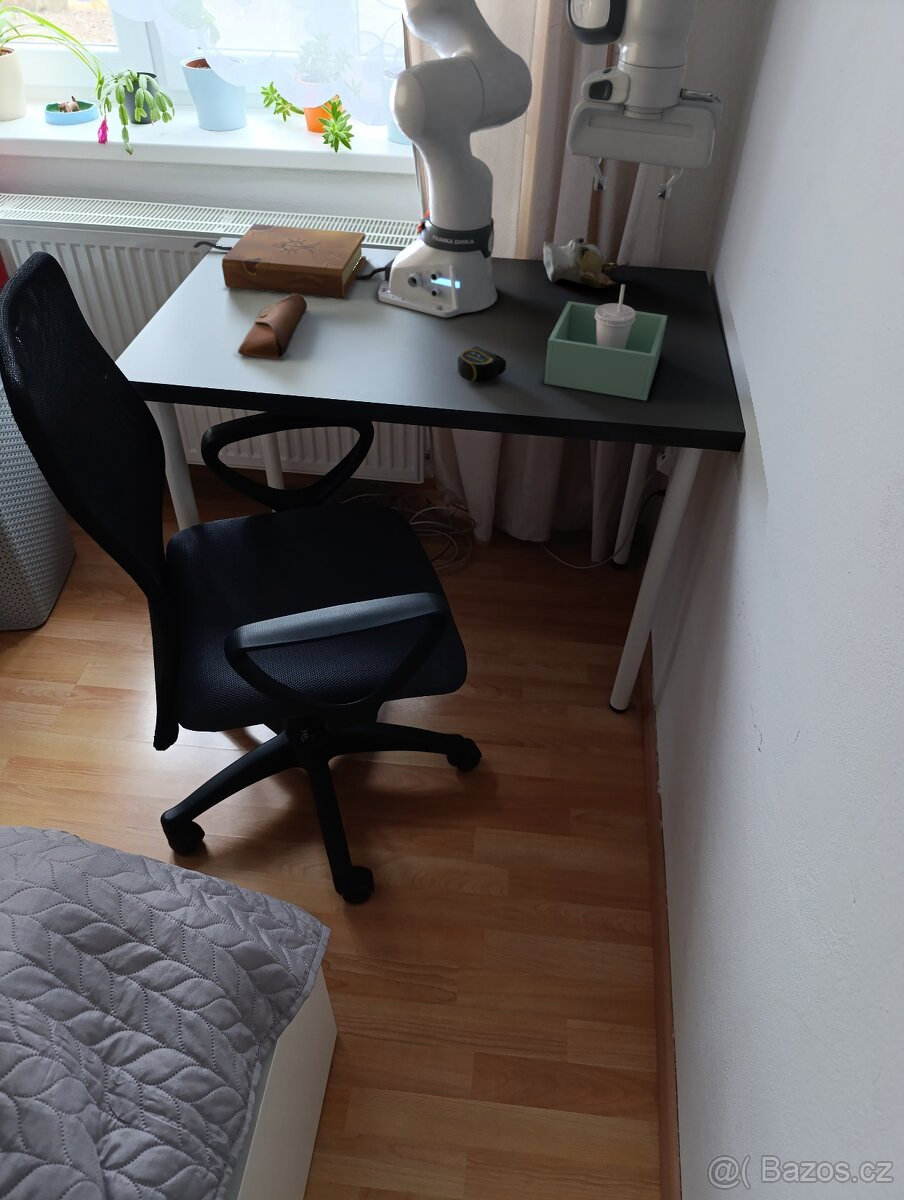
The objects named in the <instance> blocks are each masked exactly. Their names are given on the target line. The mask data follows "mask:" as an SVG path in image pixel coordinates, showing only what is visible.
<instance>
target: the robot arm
mask: <svg viewBox="0 0 904 1200" xmlns="http://www.w3.org/2000/svg"><path fill="white" fill-rule="evenodd" d="M398 2H399V6H400V9H401V13H402V17H403V19H404V23H405V25H406V27H407V28H408V30H409V31H410V33H411V34H412V35H413V36H414V37H415V38H417V39H419V40H421V41H422V42H424V43H426V44H428V45H429V46H430V47H431V48H432V49H433V50H434V51H435V52H436V54H438V56H439V57H440V58H437V59H431V60H424V61H421V62H419V63H417V64H415V65H412V66H410V67H408V68H407V69H404V70H402V71H400V72H399V73H398V74H397V75H396V76H395V78H394V80H393V83H392V85H391V90H390V93H389V107H390V113H391V117H392V120H393V122H394V124H395V126H396V128H397V129H398V131H399V132H400V133H401V134H402V135H403V136H404V137H405V138H406V139H408V140H409V141H410V142H411V143H412V144H413V145H414V146H415V147H416V149H417V150H418V152H419V153H420V155H421V157H422V160H423V163H424V165H425V169H426V174H427V181H428V182H427V183H428V200H429V202H428V203H429V209H428V210H427V211H426V212H425V213H424V214H423V218H422V219H421V220H420V221H419V225H418V226H417V227H416V229H417V232H416V233H417V234H418V235H419V236H420V237H418V238H417V239H416V240H414V241H413V242H411V243H410V244H409V245H408V246H406V247H405V248H403V249H402V250H401V251H400V252H399V253H398V254H397V255H396V256H395V257H394V258H392V259H391V260H390V261H389V262H387V263H386V264H385V265H384V266H382V267H376V268H374V269H373V270H372V271H371V272H370V273H369V274H362V275H358V276H355V281H365V280H371V279H372V278H374V277H375V276H376V275H377V274H379V273H384V280H383V281H382V282H381V283H380V285H379V286H378V291H377V298H378V299H379V301H380V302H383V303H387V304H390V305H394V306H399V307H401V308H406V309H410V310H414V311H417V312H421V313H425V314H428V315H432V316H437V317H441V318H446V319H447V318H453V317H455V316H457V315H461V314H466V313H475V312H478V311H481V310H484V309H487V308H489V307H491V306H493V305H494V304H495V302H497V299H498V292H497V290H496V289H497V288H496V285H495V280H494V271H493V261H492V259H493V258H492V254H493V251H494V247H495V246H494V245H495V222H494V221H495V219H494V218H493V199H494V198H493V197H494V196H493V194H494V177H493V173H492V171H491V169H490V168H489V165H487V164H486V163H485V162H484V161H483V160H482V159H481V158H478V157H477V156H475V155H473V152H472V146H471V134H474V133H478V132H483V131H488V130H493V129H497V128H501V127H503V126H505V125H508V124H509V123H511V122H513V121H514V120H516V119H518V118H520V117H521V116H523V115H524V114H525V113H526V111H527V110H528V108H529V106H530V103H531V99H532V94H533V80H532V74H531V71H530V68H529V66H528V64H527V63H526V61H525V59H524V58H523V57H522V56H521V55H519V54H518V53H516V52H515V51H513V50H511V49H510V48H509V47H507V45H506V44H504V43H503V41H501V40H500V38H499V37H498V36H497V35H496V33H495V32H494V31H493V30H492V28H491V27H490V25H489V24H488V22H487V21H486V19H485V17H484V16H483V14H482V12H481V11H480V8H479V6H478V4H477V2H476V0H398ZM698 3H699V0H565V10H566V11H565V13H566V20H567V23H568V27H569V29H570V31H571V32H572V34H573V35H574V37H575V38H576V39H577V40H578V41H579V42H580V43H581V44H584V45H589V46H593V47H602V46H607V45H613V44H614V45H616V46H618V48H619V57H618V64H617V65H615V66H610V67H606V68H603V69H602V68H601V69H599V70H595V71H592V72H591V73H590V74H589V75H587V76H586V78H584V80H583V82H582V84H581V87H580V97H581V98H580V100H579V101H578V102H577V104H576V105H575V106H574V108H573V111H572V115H571V118H570V121H569V126H568V132H567V136H566V137H567V138H566V148H567V151H568V152H569V154H570V155H572V156H580V157H586V158H589V161H588V167H589V169H590V171H591V173H592V177H593V178H594V183H593V184H594V185H593V191H595V192H597V191H599V192H605V190H606V186H607V183H606V182H607V178H608V175H605V174H602V171H601V167H600V166H599V165H600V164H601V162H602V159H605V160H612V161H619V162H620V161H621V162H628V163H636V164H643V165H644V164H645V165H651V166H652V165H654V166H659V167H660V166H661V167H669V168H671V171H670V172H671V173H670V175H671V178H670V179H669V180H668V181H667V182H661V183H660V187H659V190H658V191H659V193H658V195H657V198H658V200H667V201H668V200H669V199H670V196H671V191H672V188H673V187H674V185H675V184H676V182H677V181H678V180H679V179H680V177H681V176H682V174H683V170H684V169H686V170H687V169H688V170H695V171H703V170H704V169H705V168H707V167H708V166H709V165H710V163H711V161H712V157H713V150H714V142H715V135H716V134H715V133H716V130H718V128H719V127H720V125H721V124H722V121H723V117H724V113H725V112H724V110H725V104H724V101H723V99H722V98H721V97H719V96H718V95H716V94H717V93H716V92H713V91H709V90H708V91H700V90H696V89H689V88H683V86H684V80H685V79H684V78H685V74H686V69H687V63H688V41H689V37H690V33H691V31H692V29H693V27H694V24H695V20H696V14H697V9H698ZM715 100H716V101H715ZM203 245H204V246H208V247H211V248H213V249H216V250H219V251H227V252H229V251H230V250H231V249H232V247H233V246H229V247H222V246H223V245H221V246H216V245H218V244H216V243H214V242H212V241H208V240H205V239H202V240H198V241H196V242H195V243H194V245H193V248H194V249H196V248H197V249H198V248H199V247H200V246H203Z"/></svg>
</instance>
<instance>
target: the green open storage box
mask: <svg viewBox="0 0 904 1200" xmlns="http://www.w3.org/2000/svg"><path fill="white" fill-rule="evenodd" d="M599 306H600V305H597V304H591V303H583V302H576V301H569V300H568V301H567V303H566V305H565V306H564V309H563V310H562V313H561V314H560V316H559V318H558V321H557V322H556V324H555V326H554V328H553V330H552V332H551V334H550V336H549V338H548V341H547V352H546V353H547V354H546V361H545V371H544V384H546V385H551V386H557V387H564V388H569V389H575V390H581V391H586V392H592V393H599V394H604V395H611V396H617V397H622V398H628V399H633V400H634V399H635V400H640V401H647V400H648V398H649V395H650V391H651V387H652V383H653V381H654V376H655V373H656V371H657V367H658V363H659V360H660V355H661V350H662V346H663V340H664V336H665V330H666V326H667V325H666V324H667V320H668V315H665V314H659V313H650V312H644V311H638V310H634V311H635V312H636V316H635V321H634V322H633V323H632V326H631V329H630V333H629V336H628V339H627V343H626V346H625V349H618V348H612V347H605V346H599V345H596V338H597V329H596V325H597V320H596V319H595V313H596V309H597V308H598V307H599Z"/></svg>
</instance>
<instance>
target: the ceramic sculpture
mask: <svg viewBox="0 0 904 1200" xmlns="http://www.w3.org/2000/svg"><path fill="white" fill-rule="evenodd" d="M542 251H543V265H544V267H545V270H546V273H547V277H548V279H549V281H550V282H551V283H556V282H557V281H558V280H565V281H570V282H573V283H574V284H580V285H587V286H589V287H591V288H592V289H593V288H594V289H606V288H610V287H615V286H617V284H618V283H617V282H616V281H613V280H611V279H610V277H609V276H608V275H606V274H605V273H606V272H608V271H611V270H612V269H615V268H616V267H618V266H619V263H618V262H611V263H609V262H607V261H606V260H604V254H603V252H602V251H601V249H600V248H599V247H598V246H597V245H596V244H593V243H591V244H590V243H588V242H585V239H584V238H583V237H579V238H578V237H577V238H574V239H572V240H570V241H569V242H568V243H567V244H566V245H563V246H561V245H558V244H556V243H554V242H548V241H543V250H542Z"/></svg>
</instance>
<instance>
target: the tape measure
mask: <svg viewBox="0 0 904 1200" xmlns="http://www.w3.org/2000/svg"><path fill="white" fill-rule="evenodd" d="M506 368H507V360H506V359H504V357H502V356H500V355H498V354H497V353H493V352H492V351H488V350H486V349H484V348H482V347H480V346H477V345H474V346H473V347H471V348H469V349H466V350H463V351H462V352H461V353H460V355H459V356H458V358H457V372H458V374H459V376H460V377H461V378H462V379H464V380H466V381H469V382H472V383H477V384H478V383H479V384H482V383H489V382H492V381H493V380H495V379H496V378H497V377H498V376H500V375H502V374H503V373H504V372H505V371H506Z"/></svg>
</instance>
